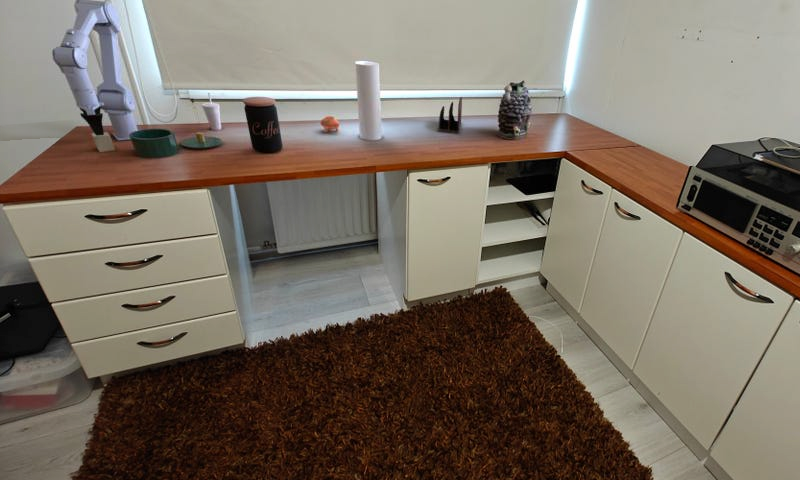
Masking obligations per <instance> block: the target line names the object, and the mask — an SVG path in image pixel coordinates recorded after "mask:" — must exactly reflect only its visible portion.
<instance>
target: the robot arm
mask: <svg viewBox="0 0 800 480" xmlns="http://www.w3.org/2000/svg"><path fill="white" fill-rule="evenodd" d="M73 7H74V10H75V13H76V16H75V20H74V24H73V28H69V29H67V30H66V32H65V34H64V36H63V39H62V41H61V43H60V46H56V47H54V48H53V49H52V53H51V54H52V60H53V61H54V63H55V65H56V66H58V68H59V70H60V72H61V73H62V74H63V75H64V76H65V79H66V81H67V83H68V87H69V89H70V91H71V93H72V96H73V98H74V100H75V105H76V107H77V108H79V110H80V111H81V112H82V113H81V112H79V114H80V117H81V118H82V119H83V120H84V121H85V122H86V123H87V124H88V125H89V127H90V129H91V130H92V131H93V133H95V135H104V132H105V131H104V127H103V116H104V114H103V113H102V112H101V110H102V111H104V113H105V114H107V115H108V118H109V121H110V123H111V127H112V129H113V132H111V134H112V135H113V137H114V138H115V139H116V141H125V140H131V139H130V136H129V135H130V134H131V133H132V132H135V131H138V130H139V129H138V125H137V123H136V120H135V116H134V114H133V112H134V111H135V109H136V101H135V99H134V95H133V91H132V90H131V89H129V88H128V87H126V86H125V85H124V84H123V78H122V77H123V76H122V68H121V67H122V65H121V57H120V56H121V55H120V47H119V46H120V45H119V36H118V35H119V34H118V33H120V32H121V25H120V15H119V13H118V11H117V9H116V7H115V6H114V5H113V3H112V2H110V1H107V0H105V1H103V0H75V1H74V4H73ZM92 30H93V31H94V32H96V33H97V34H98V40H99V49H100V57H101V58H100V59H101V68H102V77H103V78H102V79H103V81H102V82H101V83H100V84H98V85H97V86H96V92H95V89H94V87H93V84H92V81H91V78H90V76H89V73H88V71H87V67H88V64H89V63H88V54H87V52H88V49H89V47H90V44H91V40H90V38H89V37H88V36H89V35H90V33H91V32H92Z"/></svg>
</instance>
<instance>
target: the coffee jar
mask: <svg viewBox="0 0 800 480" xmlns="http://www.w3.org/2000/svg"><path fill="white" fill-rule="evenodd" d="M242 103H243V105H244V106H243V107H244V108H243V109H244V114H245V119H246V123H247V128H248V132H249V133H248V134H249V138H250V143H251V148H252V149H253V150H254V151H255V153H256V152H257V153H260V154H276V153H278V152H281V151H282V149H283V147H284V146H283V141H282V140H283V139H282V134H281V127H280V120H279V115H278V110H277V106H276V99H275V98H272V97H267V96H251V97H249V96H248V97H245V98H243V99H242Z"/></svg>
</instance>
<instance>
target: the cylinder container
mask: <svg viewBox="0 0 800 480" xmlns="http://www.w3.org/2000/svg"><path fill="white" fill-rule="evenodd" d="M354 66H355V80H356V82H355V83H356V97H357V99H356V100H357V113H358V115H357V116H358V129H359V130H358V131H359V138H360V139H362V140H365V141H378V140H381V139H382V112H381V110H382V109H381V83H380V81H381V80H380V77H381V76H380V63H378V62H374V61H368V60H365V61H364V60H359V61H355V63H354Z"/></svg>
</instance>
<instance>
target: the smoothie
mask: <svg viewBox="0 0 800 480" xmlns="http://www.w3.org/2000/svg"><path fill="white" fill-rule="evenodd" d="M207 95H208V99H209V102H203V103H202V104H201V108H202V109H203V111H204V114H205V116H206V119H207V122H208V124H209V127H210V129H211V131H220V130H222V122H221V114H220V113H221V112H220V106H221V105H220V104H219V103H217V102H213V101H212V97H211V94H210V92H208V93H207Z"/></svg>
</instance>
